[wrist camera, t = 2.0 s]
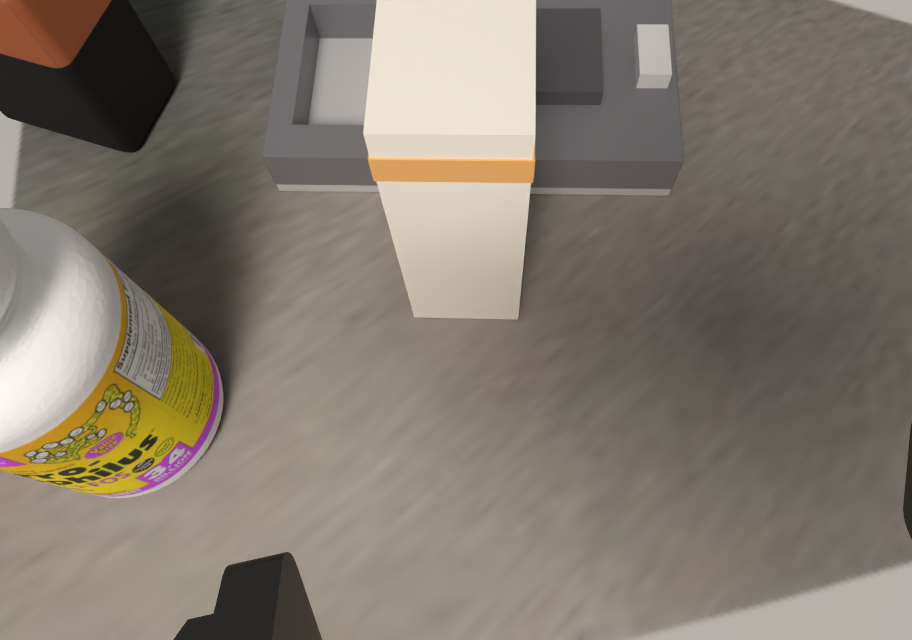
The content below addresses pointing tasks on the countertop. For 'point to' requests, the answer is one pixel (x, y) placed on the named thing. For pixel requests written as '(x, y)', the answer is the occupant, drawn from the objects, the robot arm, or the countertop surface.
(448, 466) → the countertop surface
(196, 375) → the supplement bottle
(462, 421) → the countertop surface
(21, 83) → the battery
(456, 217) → the white tall block
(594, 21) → the grey tray
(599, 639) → the countertop surface
